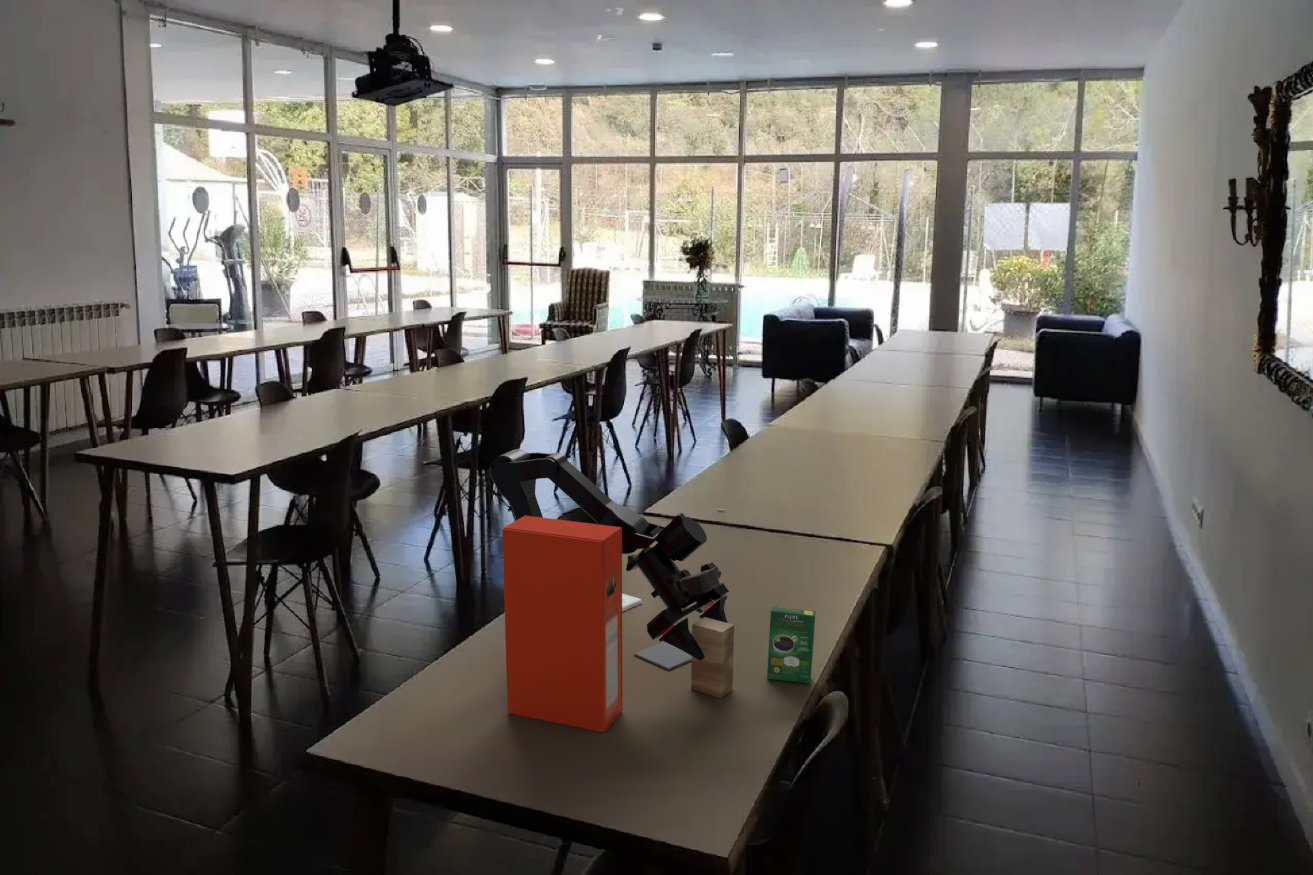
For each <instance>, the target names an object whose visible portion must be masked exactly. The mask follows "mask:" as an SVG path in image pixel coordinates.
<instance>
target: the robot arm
mask: <svg viewBox="0 0 1313 875" xmlns="http://www.w3.org/2000/svg"><path fill="white" fill-rule="evenodd" d="M488 469H489V475H490V478H491V480H492V483H493V484H494V485H495V487H496V489H497V491H498V492H499V494H500V495H502V497H503V498H504V499H505V500H506V501H507V502H508V503H509V505H510V506H511V507H510V508H511V509H512V512H513V515H514V517H515V521H516V520H518V519H520V518H522V517H523V516H533V517H542V518H544V516H543V513H542V510H541V508H540V504H539V501H538V498H537V496H536V487H537V486H536V484H537V480H539V479H540V480H541V479H547V480H550V482H552V483H553V484H554V485H555V486H556V487H557V488H558V489H560V491H562V492H563V493H564V494H565V495H566V496H568V497H569V498H570V499H571V500H572V501H573V502H574V503H575V504H576V505H577V506H579V507H580V508H581V509H582V510H583V511H584V512H585V513H586V514H587V515H588V516H590V517H591V518H592V520H594V522H595V524H598V525H606V526H614V527H622V555H627V563H626V566H625V570H626V571H627V572H631V571H634V570H636V569H639V571H640V572H641V573H642V575H643V576H644V577H645V578H644V579H646V580H647V582H648V583H649V585H650V586H651V587H652V589H653V591H652V592H651V593H650V595H651V597H652V598H653V599H655V598H657V597H658V598H659V599H660V600H661V602H662V603H663V604H664V606H665V607H666V608H665V609H663V610H661V611H659V613H658V614H657V615H655V617H653V618H652V619H651V620H650V621H649V622H648V623H646V632H647V634H648V635H649V636H648V637H650V638H651V640H652V641H654V640H656V639H658V638H659V639H658V641H659V643H662V642H666V643H668V644H670V645H672V646H674V647H677V648H678V649H680V650H682V651H684V652H686V653H687V654H689V655H691V656H693V657H694V658H696V659H698V660H700V661H701V660H703V659H704V658H705V656H704V654H703V652H702V650H701V648H700V647H699V645H698V644H697V642H696V640H695V639H694V637H693V636H692V632H691V631H690V629H689V618H688V617H687V616H688V615H690V614H692V613H694V612H697V613H699V614H700V615H699V616H698V617H699V618H700V619H702V618H704V617H707V618H710V619H714V620H718V621H722V622H725V623H729V621H728V620H727V616H726V612H725V605H726V600H727V599H728V593H729V592H730V590H729V589H728V587H727V586H726V585H725V584H724V582H720V580H719V579H721V575H722V571H721V570H719V569H720V568H719V567H718V566H717V565H716V564H715V563H714V562H713V561H710V562H705V563H704V564H703V565H701V566H700V571H698V572H696V573H693V574H691V572H690V571H689V570H688V569H685V568H684V569H681V570H680V568H679V567H678V566H677V564H676V563H675V562H676V561H678V562H684V561H685V560H686V559H687V558H689V557H690V556H692V554H694V553H695V552H696V551H697V550H698V549H699V548H701V547H702V546H703V545H704V544H705V543H707V541H708V538H707V534H706V531H705V529H704V528H703V527H702V526H701V524H700V523H699V522H697V521H696V520H694V519H693V518H691V517H689V516H686V515H685V514H684V512H682V511H681V512H679V513H677V515H676V516H675V517H673V518H672V520H671V521H670V522H669V523H668V524H667V525H662V524H659V523H655V522H654V523H653V522H650V521H648V520H647V519H646V518H645V517H643V515H640V514H639V513H637V512H636V511H634V510H633V509H631V508H630V507H626V506H624V505H621V504H619V503H617V502H615V501H614V500H613V499H612V498H610V497H609V496H608V495H607V494H606V493H605V492H603V490H601V489H600V488H599V487H598V486H597V485H596V484H595V483H593V482H592V481H591V480H590V479H589V478H588V477H587V476H586V475H585V474H583V472H581V471H580V470H579V469H578V468H577V467H575V465H574V464H572V463H571V462H570V461H569V460H568V458H567V456H566V455H564V454H562V453H560V452H554V453H553V452H552V453H547V452H527V451H525V450H524V449H521V448H516V449H512V450H511V451H510V450H509V451H507V452H505V453H502V454H501V455H499V456H497V457H495V458H494V459H493V461H492V462H491V464H490V466H489V468H488ZM655 542H657V543H655ZM654 543H655V545H653V544H654ZM652 545H653V546H652ZM637 550H640V551H639V552H637V554H634V553H635V552H636V551H637ZM683 618H684V619H683Z"/></svg>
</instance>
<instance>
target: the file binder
mask: <svg viewBox="0 0 1313 875" xmlns="http://www.w3.org/2000/svg"><path fill="white" fill-rule="evenodd" d="M501 532H502V539H501V540H502V564H503V565H502V566H503V596H504V598H503V599H504V600H503V601H504V634H505V664H506V666H505V667H506V671H505V672H506V695H507V696H506V697H507V698H506V699H507V700H506V702H507V713H508V714H509V715H515V716H519V717H525V718H530V719H535V720H538V721H544V722H550V723H555V724H559V725H564V726H569V727H573V728H574V727H575V728H577V729H583V730H589V731H594V732H599V733H605V732H606V731H607V730H608V728H610V726H611V725H612V724H613V723H614V722H615V720H617V719H618V717H619V716H620V715H621V714H622V711H623V710H624V709H623V708H624V707H623V706H624V705H623V702H624V701H623V696H624V695H623V690H624V689H623V612H622V593H623V554H622V527H614V526H606V525H598V524H597V523H590V522H589V523H588V522H581V521H572V520H564V519H558V518H557V519H556V518H549V517H548V518H547V517H543V518H542V517H533V516H523V517H522V518H520V519H518V520H516V519H515V521H513V522H511V523H510V524H508V525H506V526H504V527H503V528H502V530H501Z"/></svg>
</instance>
